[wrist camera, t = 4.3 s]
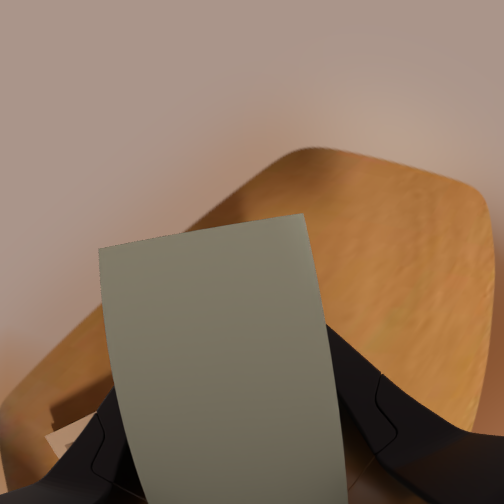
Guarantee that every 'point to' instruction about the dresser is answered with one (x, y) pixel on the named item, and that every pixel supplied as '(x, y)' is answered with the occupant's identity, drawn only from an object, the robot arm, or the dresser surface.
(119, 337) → the door panel
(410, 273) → the dresser surface
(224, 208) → the dresser surface
